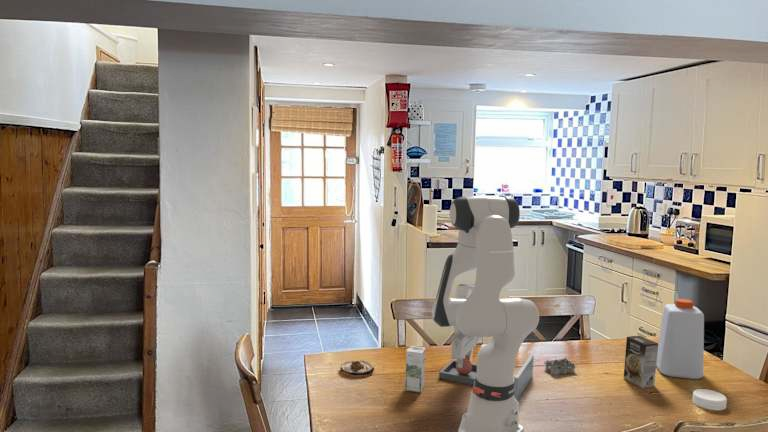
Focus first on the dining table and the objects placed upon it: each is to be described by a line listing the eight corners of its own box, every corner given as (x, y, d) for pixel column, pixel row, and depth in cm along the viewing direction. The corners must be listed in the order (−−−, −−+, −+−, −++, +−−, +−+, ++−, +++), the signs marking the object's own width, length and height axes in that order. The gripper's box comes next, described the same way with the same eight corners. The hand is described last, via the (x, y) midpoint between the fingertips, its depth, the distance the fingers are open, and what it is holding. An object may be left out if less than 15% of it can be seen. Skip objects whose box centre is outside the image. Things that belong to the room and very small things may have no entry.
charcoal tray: (476, 386, 203) (476, 379, 202) (439, 378, 209) (439, 371, 208) (487, 372, 215) (487, 366, 215) (452, 365, 221) (452, 359, 221)
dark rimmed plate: (381, 378, 208) (381, 367, 208) (341, 382, 205) (341, 370, 204) (372, 363, 223) (372, 353, 222) (333, 366, 219) (334, 356, 218)
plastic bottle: (661, 376, 215) (667, 304, 212) (652, 362, 230) (658, 294, 226) (705, 381, 212) (712, 307, 208) (694, 366, 226) (700, 297, 223)
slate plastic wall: (516, 401, 191) (518, 378, 190) (513, 400, 192) (514, 377, 191) (532, 376, 213) (533, 355, 212) (529, 375, 213) (530, 354, 212)
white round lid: (696, 395, 200) (697, 385, 199) (729, 404, 193) (730, 394, 193) (688, 404, 192) (689, 394, 192) (722, 414, 186) (723, 403, 185)
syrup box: (424, 386, 201) (425, 346, 199) (420, 393, 195) (422, 352, 194) (408, 384, 203) (409, 344, 201) (404, 391, 197) (405, 350, 195)
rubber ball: (468, 378, 208) (469, 363, 207) (453, 375, 210) (453, 359, 210) (473, 373, 213) (474, 357, 212) (458, 370, 216) (459, 354, 215)
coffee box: (622, 378, 213) (625, 336, 211) (636, 376, 215) (639, 334, 213) (641, 388, 204) (645, 344, 202) (655, 386, 206) (659, 342, 204)
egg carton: (553, 376, 214) (553, 366, 213) (541, 368, 221) (542, 358, 220) (577, 373, 217) (578, 363, 216) (565, 366, 224) (566, 356, 223)
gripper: (464, 336, 199) (463, 374, 201) (482, 321, 217) (480, 356, 219) (447, 333, 202) (446, 371, 203) (466, 318, 220) (464, 353, 222)
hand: (464, 363), depth 211 cm, fingers open, 7 cm apart
